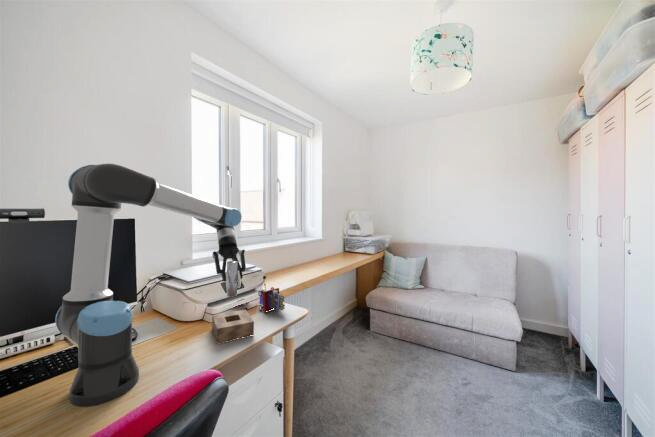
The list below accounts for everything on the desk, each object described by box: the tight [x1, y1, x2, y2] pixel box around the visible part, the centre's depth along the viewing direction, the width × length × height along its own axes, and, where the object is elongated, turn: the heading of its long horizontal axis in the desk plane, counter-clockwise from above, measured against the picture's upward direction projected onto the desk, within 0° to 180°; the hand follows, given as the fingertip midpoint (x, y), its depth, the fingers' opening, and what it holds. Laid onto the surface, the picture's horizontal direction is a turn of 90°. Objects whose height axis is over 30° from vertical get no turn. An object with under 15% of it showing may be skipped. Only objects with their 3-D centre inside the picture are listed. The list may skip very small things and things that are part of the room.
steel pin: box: [226, 260, 238, 298], centre depth 107 cm, size 4×4×14 cm
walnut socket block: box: [211, 309, 255, 345], centre depth 109 cm, size 14×14×6 cm
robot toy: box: [257, 275, 286, 314], centre depth 133 cm, size 17×9×20 cm
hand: (234, 286), depth 104 cm, fingers closed on steel pin, 4 cm apart
